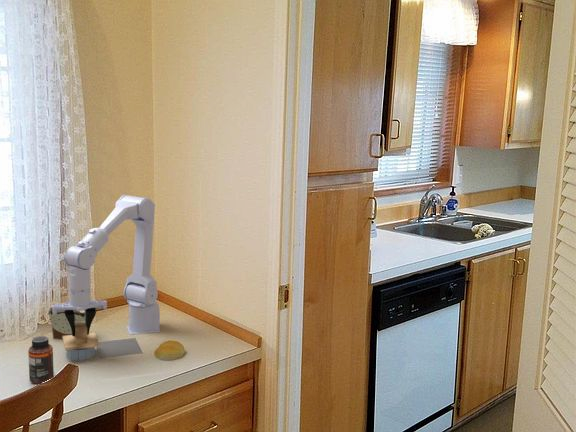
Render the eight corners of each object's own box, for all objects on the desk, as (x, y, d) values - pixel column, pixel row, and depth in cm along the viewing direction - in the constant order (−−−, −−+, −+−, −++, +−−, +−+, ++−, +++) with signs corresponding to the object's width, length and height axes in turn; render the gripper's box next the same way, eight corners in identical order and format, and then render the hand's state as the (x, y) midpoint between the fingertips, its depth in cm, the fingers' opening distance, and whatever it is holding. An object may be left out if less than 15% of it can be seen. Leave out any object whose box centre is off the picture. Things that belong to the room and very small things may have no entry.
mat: (135, 339, 189) (135, 337, 189) (143, 354, 178) (143, 352, 178) (95, 343, 184) (95, 342, 184) (100, 359, 173) (100, 358, 173)
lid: (94, 335, 179) (94, 317, 179) (99, 346, 171) (99, 328, 171) (62, 338, 176) (62, 321, 175) (65, 350, 168) (64, 332, 167)
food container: (95, 335, 190) (95, 305, 188) (87, 343, 184) (87, 311, 182) (57, 332, 191) (57, 301, 189) (48, 339, 185) (47, 308, 183)
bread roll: (150, 360, 175) (150, 347, 174) (162, 348, 183) (162, 336, 183) (178, 364, 173) (178, 350, 173) (188, 351, 182) (188, 339, 181)
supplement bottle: (48, 372, 164) (48, 332, 161) (57, 380, 159) (56, 339, 157) (25, 378, 160) (24, 337, 158) (33, 386, 155) (32, 345, 153)
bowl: (92, 349, 180) (92, 338, 179) (96, 359, 173) (96, 348, 172) (65, 352, 176) (65, 341, 176) (67, 363, 170) (67, 351, 169)
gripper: (53, 295, 164) (54, 342, 167) (108, 290, 170) (108, 336, 173) (51, 287, 171) (52, 333, 173) (104, 283, 177) (105, 327, 179)
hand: (80, 334), depth 173 cm, fingers closed on lid, 3 cm apart
